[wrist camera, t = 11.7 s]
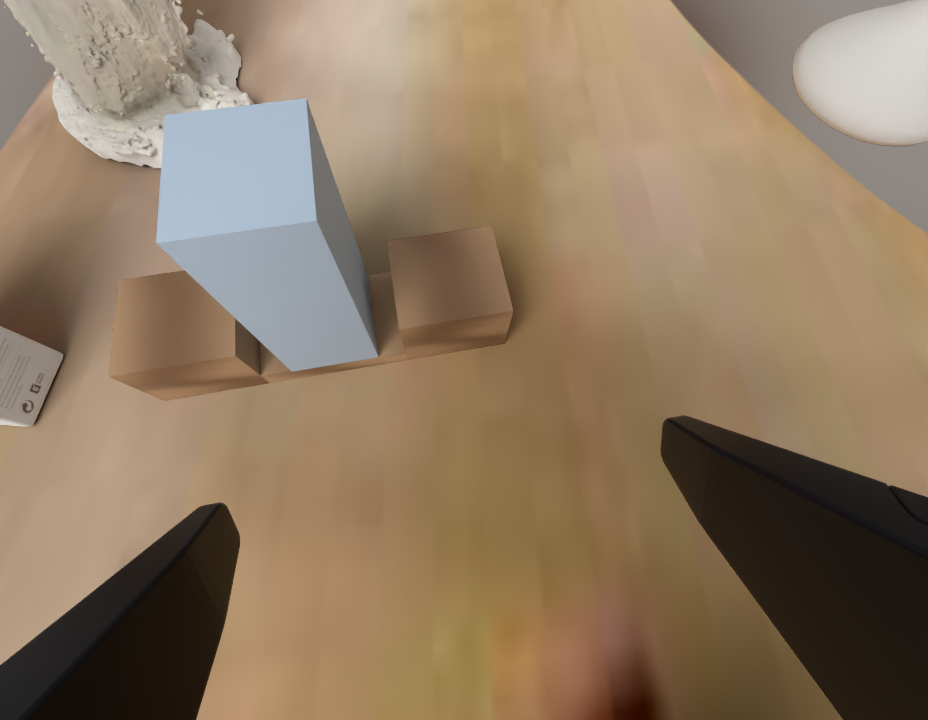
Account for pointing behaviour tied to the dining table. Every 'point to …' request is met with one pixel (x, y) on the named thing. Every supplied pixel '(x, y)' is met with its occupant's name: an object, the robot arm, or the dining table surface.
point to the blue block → (266, 230)
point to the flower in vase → (869, 74)
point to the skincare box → (24, 377)
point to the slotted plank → (250, 363)
